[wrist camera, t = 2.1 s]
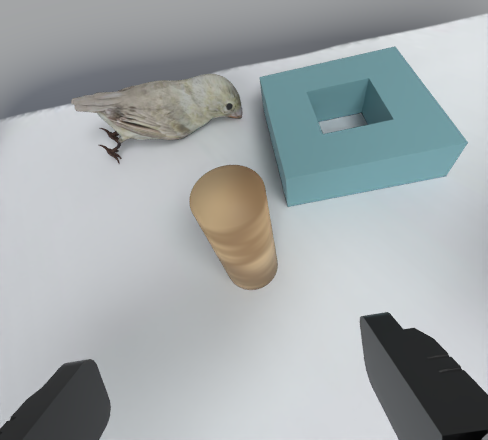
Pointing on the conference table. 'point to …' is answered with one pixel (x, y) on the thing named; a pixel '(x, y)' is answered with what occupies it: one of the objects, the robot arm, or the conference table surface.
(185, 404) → the conference table surface
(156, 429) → the conference table surface
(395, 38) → the conference table surface
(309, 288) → the conference table surface
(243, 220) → the peg
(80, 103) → the decorative bird
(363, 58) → the socket block
